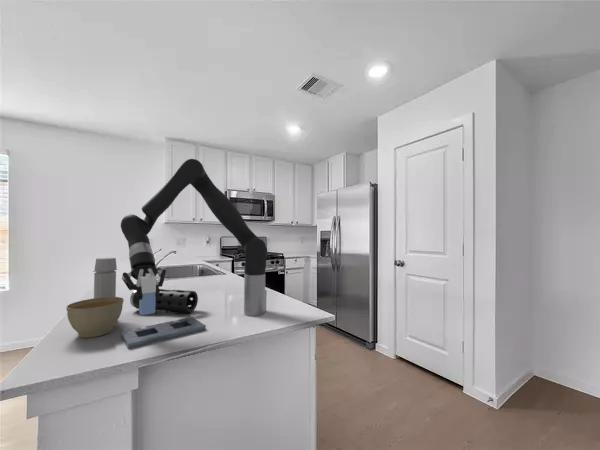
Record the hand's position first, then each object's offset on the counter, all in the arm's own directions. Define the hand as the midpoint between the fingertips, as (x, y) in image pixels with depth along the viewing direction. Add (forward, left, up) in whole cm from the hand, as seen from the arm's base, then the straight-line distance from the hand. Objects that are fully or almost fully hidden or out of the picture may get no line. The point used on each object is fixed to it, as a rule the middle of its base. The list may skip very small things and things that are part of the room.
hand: (149, 297), depth 89 cm
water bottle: (0, -33, -14) cm, 36 cm away
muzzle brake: (-20, -25, -15) cm, 35 cm away
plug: (0, -2, -6) cm, 6 cm away
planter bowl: (+7, -21, -14) cm, 27 cm away
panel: (-6, 0, -14) cm, 15 cm away
